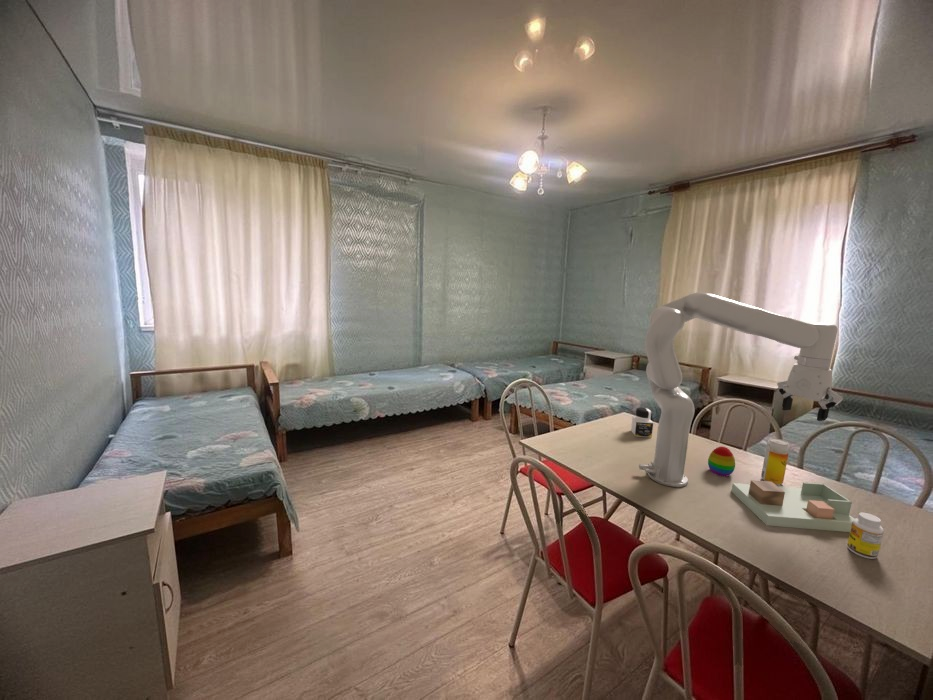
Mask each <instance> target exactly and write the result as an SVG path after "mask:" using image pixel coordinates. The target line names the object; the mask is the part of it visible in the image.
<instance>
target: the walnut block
mask: <svg viewBox="0 0 933 700" xmlns="http://www.w3.org/2000/svg"><path fill="white" fill-rule="evenodd" d="M749 484H750V488H749V494H750V495H751V496H752V497H753V498H754V499H755V500H757V501H758V502H759V503H760V504H764V505H777V506H782V505H783V500H784V495H785V492H784V491H783V490H782V489H780V488H779V487H778V486H779V485H775V484H774V483H773V482H770V481H763V480H756V479H755V480H752V479H751V480H750V482H749Z"/></svg>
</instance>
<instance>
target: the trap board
mask: <svg viewBox="0 0 933 700" xmlns="http://www.w3.org/2000/svg"><path fill="white" fill-rule="evenodd" d="M777 486H778V487H779V488H780V489H782V490H783V491H784V492H785V495H784V500H783V505H782V506H777V505H764V504H760V503H759V502H758V501H757V500H755V499H754V498H753V497H752V496H751V495H750V494H749V488H750V483H738V482H737V483H736V482H733V483H732V484H731V492H732V493H733V495H734V496H736V497H737V498H738V499H739V500H740V501H741V502H742V503H743V504H744V505H745V507H747V508H748V509H749V510H750V511H751V512H752V513H754V515H755V516H757V518H758V519H760V520H761V522H763V524H765V525H766V526H769V527H770V526H772V527H780V528H781V527H783V528H794V529H795V528H796V529H807V530H820V531H832V532H843V533H844V532H845V533H850V531H851V526H852V522H853V520H854V519H855V517H853V516H852V515H850V511H851V508H852V503H853V502H852V501H851V500H849V499H848V498H846V497H845V496H844V495H841V494H840V493H838V492H837V491H836V490H834V489H832V488H831V487H829V486H828V485H826V484H825V483H816V482H805V481H804V482H802V486H801V487H796V486H795V487H793V486H792V487H790V486H781V485H777ZM808 500H814V501H823V502H825V503H826V504H828V505H829V506H831V507H832V508H833V509H834V513H833V518H832V519H821V518H814V517H812V516H811V515H810V514H809V513H807V512H806V508H807V503H808Z"/></svg>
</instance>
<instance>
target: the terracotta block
mask: <svg viewBox="0 0 933 700" xmlns="http://www.w3.org/2000/svg"><path fill="white" fill-rule="evenodd" d="M806 512H807V513H809V514H810V515H811V516H812V517H814V518H821V519H832V518H833V513H834V509H833V508H832V507H831V506H829V505H828V504H826V503H825V502H823V501H814V500H808V503H807V508H806Z"/></svg>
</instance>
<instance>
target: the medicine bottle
mask: <svg viewBox="0 0 933 700" xmlns="http://www.w3.org/2000/svg"><path fill="white" fill-rule="evenodd" d="M651 414H652V411H651V410H650V409H649V408H648V407H647V408H646V407H637V408H636V410H635V416H634V415H633V416H632V418H631V427H630V431H631V432H632V434H633V435H634V437H638V438H639V437H641V438H649V439H650V438H652V436H653V430H654V422H653V420H651Z"/></svg>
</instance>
